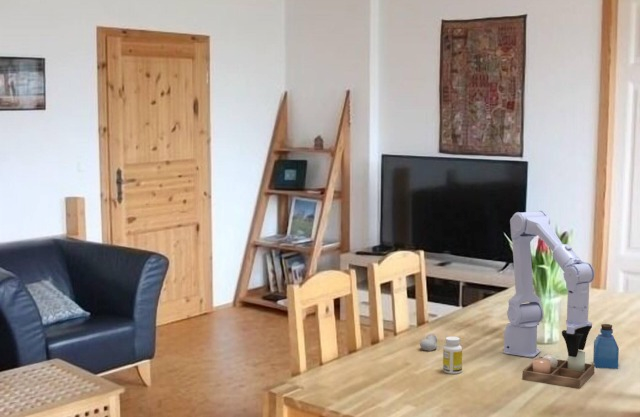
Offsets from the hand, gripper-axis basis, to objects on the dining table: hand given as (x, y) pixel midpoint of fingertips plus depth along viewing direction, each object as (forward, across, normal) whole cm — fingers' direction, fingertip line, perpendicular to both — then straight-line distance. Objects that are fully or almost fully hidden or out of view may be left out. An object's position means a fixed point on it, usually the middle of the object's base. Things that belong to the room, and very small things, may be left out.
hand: (576, 352), depth 243 cm
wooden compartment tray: (+6, -4, +4) cm, 8 cm away
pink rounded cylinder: (+6, -8, +8) cm, 12 cm away
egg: (+6, 0, +8) cm, 10 cm away
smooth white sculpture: (+7, +4, +46) cm, 47 cm away
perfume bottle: (+7, +13, -5) cm, 16 cm away
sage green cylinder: (+6, 0, 0) cm, 6 cm away
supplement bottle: (+7, -15, +31) cm, 35 cm away
